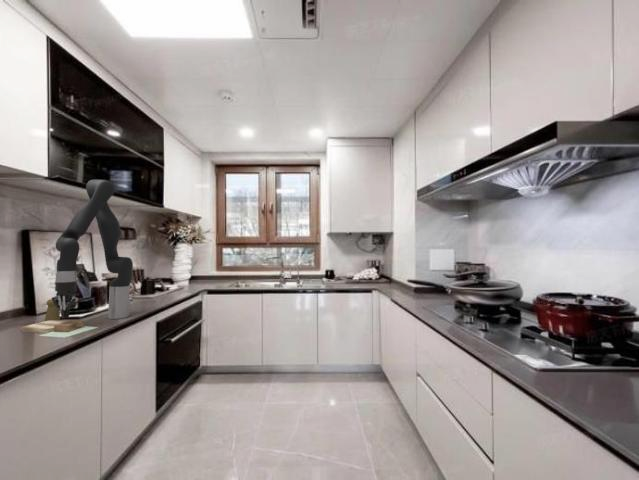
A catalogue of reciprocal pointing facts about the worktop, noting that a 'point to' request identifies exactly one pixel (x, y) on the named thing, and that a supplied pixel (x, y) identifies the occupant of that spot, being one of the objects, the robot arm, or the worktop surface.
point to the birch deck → (41, 327)
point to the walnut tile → (68, 326)
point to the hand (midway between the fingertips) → (65, 317)
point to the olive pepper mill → (52, 311)
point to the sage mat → (68, 334)
